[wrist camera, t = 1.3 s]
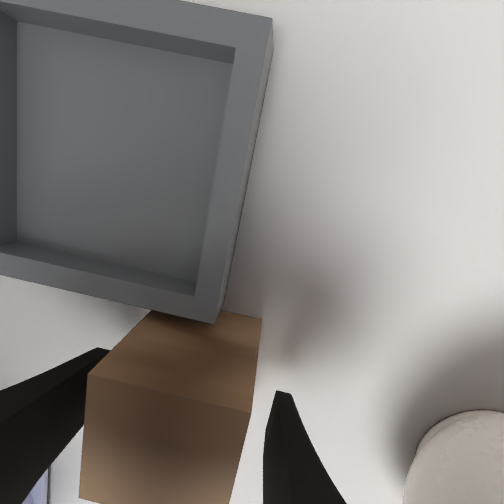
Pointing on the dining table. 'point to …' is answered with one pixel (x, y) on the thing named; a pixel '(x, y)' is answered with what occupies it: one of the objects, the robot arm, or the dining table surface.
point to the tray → (128, 146)
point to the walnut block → (170, 411)
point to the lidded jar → (459, 461)
